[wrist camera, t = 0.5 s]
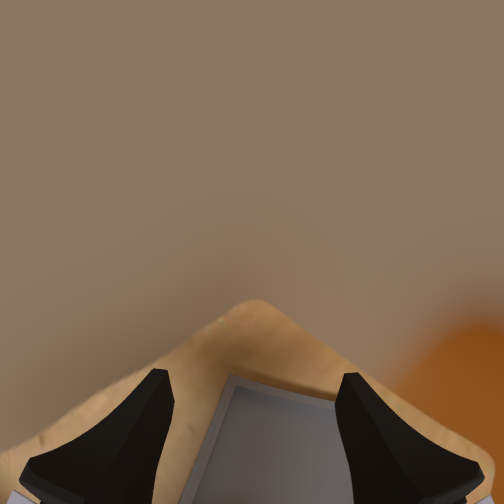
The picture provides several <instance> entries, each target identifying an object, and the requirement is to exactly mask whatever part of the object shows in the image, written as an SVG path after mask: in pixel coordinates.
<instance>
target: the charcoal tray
mask: <svg viewBox="0 0 504 504" xmlns="http://www.w3.org/2000/svg"><path fill="white" fill-rule="evenodd" d="M334 404H335V402H334V401H329V400H324V399H320V398H315V397H311V396H306V395H302V394H298V393H294V392H290V391H286V390H283V389H279V388H275V387H271V386H268V385H264V384H261V383H258V382H254V381H251V380H248V379H244V378H241V377H238V376H235V375H232V374H229V377H228V379H227V382H226V385H225V387H224V390H223V393H222V395H221V398H220V400H219V403H218V406H217V408H216V411H215V413H214V416H213V419H212V421H211V424H210V426H209V429H208V432H207V434H206V437H205V439H204V442H203V444H202V447H201V449H200V452H199V454H198V457H197V459H196V462H195V464H194V467H193V469H192V472H191V474H190V477H189V479H188V482H187V484H186V487H185V489H184V491H183V494H182V496H181V499H180V501H179V504H354V500H353V490H352V482H351V474H350V469H349V465H348V461H347V458H346V454H345V451H344V447H343V443H342V440H341V436H340V433H339V429H338V425H337V419H336V413H335V405H334Z"/></svg>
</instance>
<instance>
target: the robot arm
mask: <svg viewBox="0 0 504 504" xmlns="http://www.w3.org/2000/svg"><path fill="white" fill-rule="evenodd" d="M174 403H175V401H174V397H173V392H172V388H171V384H170V379H169V375H168V370H163V369H155V368H154V369H152V370H151V371H150V372H149V374H148V375H147V376H146V377H145V378H144V379H143V380H142V382H141V383H140V384H139V385H138V386H137V387H136V388H135V389H134V390H133V391H132V392H131V394H130V395H129V396H128V397H127V398H126V399H125V400H124V401H123V402H122V403H121V404H120V405H119V406H118V407H116V408H115V409H114V410H113V411H112V412H111V413H110V414H109V415H108V416H107V417H105V418H104V419H103V420H102V421H100V422H99V423H98V424H97V425H95V426H94V427H93V428H91V429H90V430H88V431H87V432H85V433H84V434H82V435H81V436H79V437H77V438H76V439H74V440H72V441H70V442H68V443H66V444H64V445H62V446H60V447H58V448H56V449H54V450H52V451H49V452H46V453H44V454H41V455H38V456H35V457H31V458H30V459H29V460H28V462H27V464H26V466H25V468H24V470H23V472H22V474H21V476H20V478H19V482H20V484H21V485H22V486H23V487H25V488H26V489H27V490H28V491H29V492H30V493H32V494H33V495H34V496H35V497H37V498H38V499H39V500H41V502H40V504H152V497H153V489H154V483H155V477H156V471H157V467H158V463H159V459H160V456H161V453H162V450H163V447H164V443H165V440H166V437H167V434H168V431H169V427H170V424H171V420H172V414H173V409H174ZM334 405H335V413H336V419H337V425H338V429H339V433H340V436H341V440H342V443H343V447H344V451H345V454H346V458H347V461H348V465H349V469H350V474H351V482H352V490H353V500H354V504H466V503H467V500H466V497H465V496H466V495H468V494H469V493H470V492H472V491H473V490H474V489H475V488H476V487H478V486H479V485H480V484H481V483H482V482H483V481H484V478H485V476H484V474H483V472H482V470H481V468H480V466H479V464H478V462H475V461H472V460H470V459H467V458H464V457H461V456H459V455H456V454H454V453H452V452H450V451H448V450H446V449H444V448H442V447H440V446H438V445H437V444H435V443H433V442H432V441H430V440H429V439H427V438H425V437H424V436H423V435H421V434H420V433H418V432H417V431H416V430H414V429H413V428H412V427H411V426H409V425H408V424H407V423H406V422H405V421H403V420H402V419H401V418H400V417H399V416H398V415H397V414H396V413H395V412H394V411H393V410H392V409H391V408H390V407H389V406H388V405H387V404H386V403H385V402H384V401H383V400H382V399H381V398H380V397H379V396H378V394H377V393H376V392H375V391H374V390H373V389H372V388H371V387H370V385H369V384H368V383H367V382H366V381H365V380H364V379H363V377H362V376H361V375H360V374H359V373H358V372H356V373H344V376H343V380H342V383H341V386H340V389H339V392H338V395H337V398H336V401H335V404H334ZM7 504H37V503H35V502H33V501H32V500H30V499H28V498H27V497H25V496H24V495H22V494H20V493H19V492H17V491H16V490H12V493H11V495H10V497H9V499H8V501H7ZM475 504H494V502H493V500H492V498H491V495H488V496H486V497H485V498H483V499H481V500H480V501H478V502H476V503H475Z"/></svg>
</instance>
